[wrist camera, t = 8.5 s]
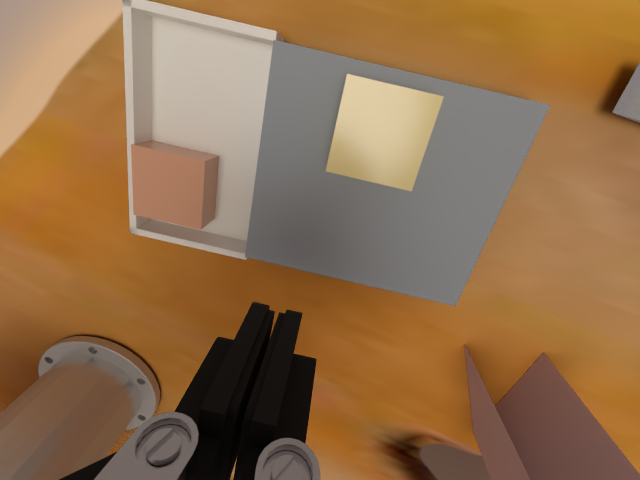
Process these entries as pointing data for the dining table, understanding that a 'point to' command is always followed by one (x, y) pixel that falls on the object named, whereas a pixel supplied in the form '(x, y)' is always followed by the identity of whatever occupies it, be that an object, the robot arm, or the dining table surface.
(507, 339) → the dining table surface
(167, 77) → the tray
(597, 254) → the dining table surface
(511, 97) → the slate board
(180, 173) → the salmon pink block
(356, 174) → the tile mustard
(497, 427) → the greeting card
